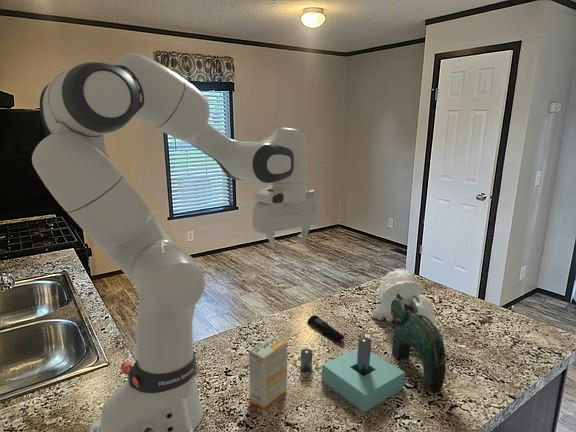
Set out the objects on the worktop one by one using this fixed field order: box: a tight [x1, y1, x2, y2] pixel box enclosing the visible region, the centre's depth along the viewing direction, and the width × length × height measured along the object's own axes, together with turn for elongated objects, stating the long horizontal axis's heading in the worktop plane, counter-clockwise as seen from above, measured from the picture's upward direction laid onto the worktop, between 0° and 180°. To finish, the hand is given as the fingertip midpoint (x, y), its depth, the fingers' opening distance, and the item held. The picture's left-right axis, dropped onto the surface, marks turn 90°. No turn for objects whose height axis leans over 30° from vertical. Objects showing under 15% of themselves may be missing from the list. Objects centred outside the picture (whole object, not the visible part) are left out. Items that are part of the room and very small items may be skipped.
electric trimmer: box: [307, 315, 345, 342], centre depth 120 cm, size 4×16×3 cm, turn 32°
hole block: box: [321, 347, 406, 413], centre depth 95 cm, size 14×14×4 cm
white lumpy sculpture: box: [370, 268, 435, 325], centre depth 128 cm, size 19×20×20 cm
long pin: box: [356, 336, 372, 376], centre depth 94 cm, size 3×3×12 cm
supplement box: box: [248, 335, 288, 410], centre depth 90 cm, size 8×5×13 cm, turn 141°
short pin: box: [300, 347, 313, 373], centre depth 101 cm, size 3×3×5 cm
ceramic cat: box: [391, 294, 447, 393], centre depth 100 cm, size 20×6×20 cm, turn 15°
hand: (288, 244), depth 103 cm, fingers open, 8 cm apart
